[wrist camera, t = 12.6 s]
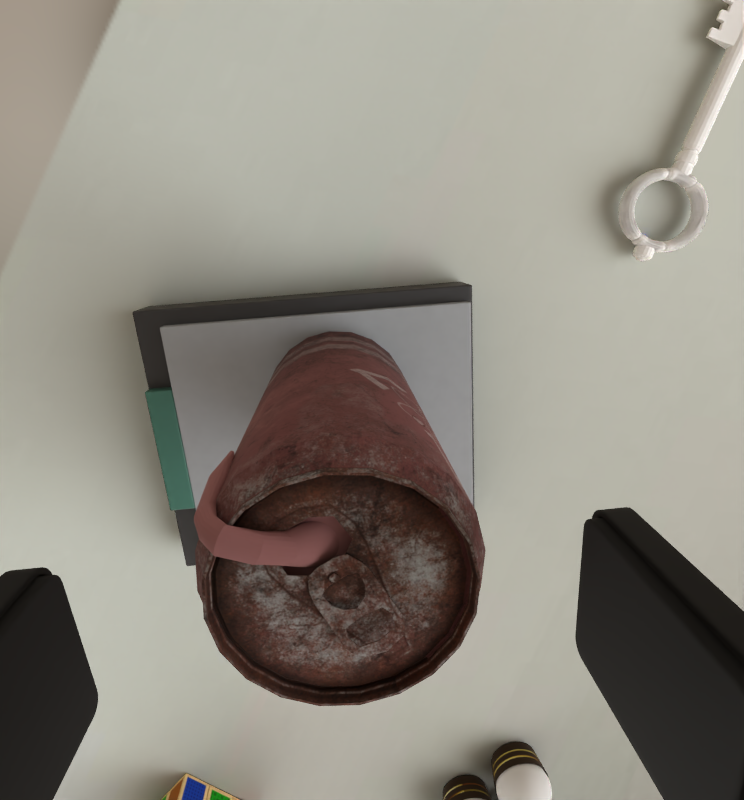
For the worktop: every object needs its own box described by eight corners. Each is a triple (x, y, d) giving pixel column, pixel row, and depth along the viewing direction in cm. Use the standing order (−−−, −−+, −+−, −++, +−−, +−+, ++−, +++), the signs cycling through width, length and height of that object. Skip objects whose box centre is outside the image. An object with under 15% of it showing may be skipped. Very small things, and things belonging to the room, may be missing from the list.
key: (596, 245, 24) (671, 274, 25) (606, 245, 23) (684, 275, 24) (719, -36, 21) (801, 4, 22) (736, -49, 20) (821, -6, 21)
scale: (196, 544, 28) (183, 572, 25) (148, 306, 24) (127, 313, 21) (465, 517, 28) (477, 542, 26) (461, 281, 24) (475, 285, 22)
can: (290, 306, 22) (220, 404, 8) (424, 357, 23) (552, 516, 9) (247, 430, 23) (130, 681, 10) (375, 472, 24) (425, 750, 11)
